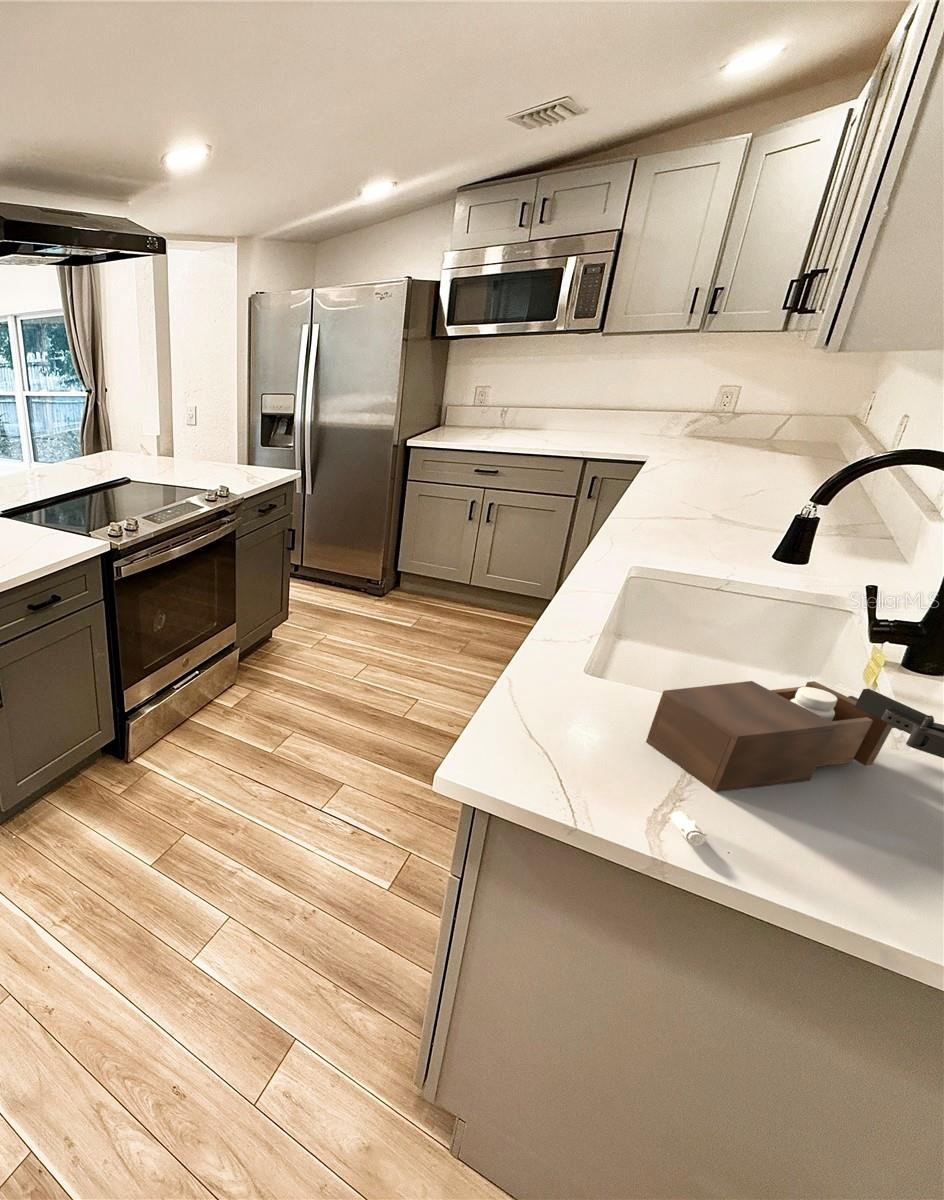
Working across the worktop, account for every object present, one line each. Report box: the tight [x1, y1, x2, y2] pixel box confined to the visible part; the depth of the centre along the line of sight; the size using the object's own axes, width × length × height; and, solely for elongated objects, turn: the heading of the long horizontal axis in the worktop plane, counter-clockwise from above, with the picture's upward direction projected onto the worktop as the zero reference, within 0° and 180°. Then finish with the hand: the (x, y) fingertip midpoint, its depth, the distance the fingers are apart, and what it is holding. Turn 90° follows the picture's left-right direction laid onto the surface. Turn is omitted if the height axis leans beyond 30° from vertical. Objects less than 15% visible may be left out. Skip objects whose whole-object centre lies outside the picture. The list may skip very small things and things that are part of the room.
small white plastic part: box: [670, 811, 707, 846], centre depth 79 cm, size 4×6×3 cm, turn 134°
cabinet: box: [645, 680, 837, 793], centre depth 90 cm, size 15×12×10 cm
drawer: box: [769, 680, 904, 767], centre depth 91 cm, size 19×10×8 cm, turn 96°
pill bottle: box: [790, 686, 837, 721], centre depth 90 cm, size 5×5×8 cm
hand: (909, 692), depth 78 cm, fingers open, 13 cm apart
